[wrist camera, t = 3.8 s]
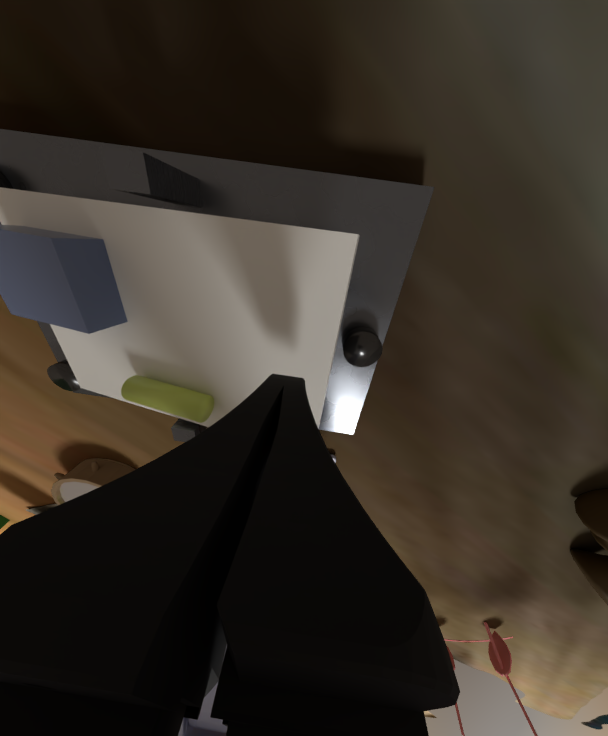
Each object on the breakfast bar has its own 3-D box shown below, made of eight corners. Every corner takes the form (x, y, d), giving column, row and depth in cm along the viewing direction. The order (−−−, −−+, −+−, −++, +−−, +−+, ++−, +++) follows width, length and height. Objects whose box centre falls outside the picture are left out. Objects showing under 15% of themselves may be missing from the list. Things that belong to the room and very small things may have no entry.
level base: (422, 192, 12) (485, 162, 7) (351, 422, 21) (359, 476, 16) (-25, 132, 12) (-243, 65, 8) (88, 382, 21) (19, 424, 16)
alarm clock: (90, 467, 23) (170, 560, 27) (131, 437, 28) (194, 520, 32) (30, 486, 26) (110, 567, 30) (76, 456, 31) (140, 530, 35)
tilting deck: (359, 235, 9) (354, 230, 6) (314, 446, 15) (303, 488, 12) (11, 189, 11) (-91, 173, 9) (94, 381, 18) (47, 403, 15)
